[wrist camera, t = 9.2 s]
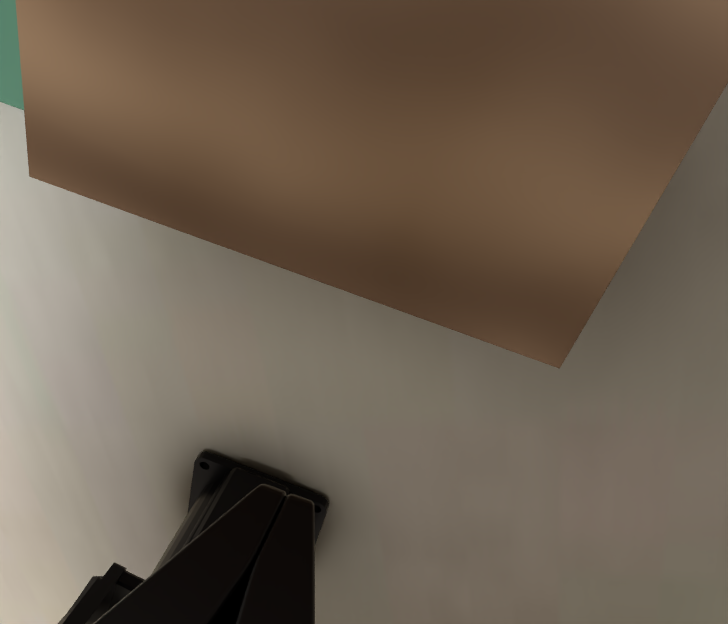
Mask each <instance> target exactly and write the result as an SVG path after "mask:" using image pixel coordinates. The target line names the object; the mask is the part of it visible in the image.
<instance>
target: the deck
mask: <svg viewBox="0 0 728 624" xmlns="http://www.w3.org/2000/svg"><path fill="white" fill-rule="evenodd" d="M16 12H17V25H18V38H19V50H20V63H21V76H22V88H23V101H24V114H25V126H26V139H27V151H28V164H29V176H30V177H32V178H35V179H38V180H41V181H43V182H46V183H49V184H52V185H54V186H57V187H60V188H63V189H66V190H68V191H71V192H74V193H77V194H79V195H82V196H85V197H88V198H90V199H93V200H96V201H99V202H101V203H104V204H107V205H110V206H112V207H115V208H118V209H121V210H124V211H126V212H129V213H132V214H135V215H137V216H140V217H143V218H146V219H148V220H151V221H154V222H157V223H159V224H162V225H165V226H168V227H170V228H173V229H176V230H179V231H181V232H184V233H187V234H190V235H193V236H195V237H198V238H201V239H204V240H206V241H209V242H212V243H215V244H217V245H220V246H223V247H226V248H228V249H231V250H234V251H237V252H239V253H242V254H245V255H248V256H251V257H253V258H256V259H259V260H262V261H264V262H267V263H270V264H273V265H275V266H278V267H281V268H284V269H286V270H289V271H292V272H295V273H297V274H300V275H303V276H306V277H308V278H311V279H314V280H317V281H320V282H322V283H325V284H328V285H331V286H333V287H336V288H339V289H342V290H344V291H347V292H350V293H353V294H355V295H358V296H361V297H364V298H366V299H369V300H372V301H375V302H378V303H380V304H383V305H386V306H389V307H391V308H394V309H397V310H400V311H402V312H405V313H408V314H411V315H413V316H416V317H419V318H422V319H424V320H427V321H430V322H433V323H435V324H438V325H441V326H444V327H447V328H449V329H452V330H455V331H458V332H460V333H463V334H466V335H469V336H471V337H474V338H477V339H480V340H482V341H485V342H488V343H491V344H493V345H496V346H499V347H502V348H505V349H507V350H510V351H513V352H516V353H518V354H521V355H524V356H527V357H529V358H532V359H535V360H538V361H540V362H543V363H546V364H549V365H551V366H554V367H557V368H560V367H561V365H562V363H563V362H564V360H565V358H566V357H567V355H568V353H569V351H570V350H571V348H572V346H573V345H574V343H575V341H576V340H577V338H578V336H579V335H580V333H581V331H582V329H583V328H584V326H585V324H586V323H587V321H588V319H589V318H590V316H591V314H592V312H593V311H594V309H595V307H596V306H597V304H598V302H599V301H600V299H601V297H602V295H603V294H604V292H605V290H606V289H607V287H608V285H609V284H610V282H611V280H612V278H613V277H614V275H615V273H616V272H617V270H618V268H619V267H620V265H621V263H622V261H623V260H624V258H625V256H626V255H627V253H628V251H629V250H630V248H631V246H632V245H633V243H634V241H635V239H636V238H637V236H638V234H639V233H640V231H641V229H642V228H643V226H644V224H645V222H646V221H647V219H648V217H649V216H650V214H651V212H652V211H653V209H654V207H655V205H656V204H657V202H658V200H659V199H660V197H661V195H662V194H663V192H664V190H665V188H666V187H667V185H668V183H669V182H670V180H671V178H672V177H673V175H674V173H675V171H676V170H677V168H678V166H679V165H680V163H681V161H682V160H683V158H684V156H685V155H686V153H687V151H688V149H689V148H690V146H691V144H692V143H693V141H694V139H695V138H696V136H697V134H698V132H699V131H700V129H701V127H702V126H703V124H704V122H705V121H706V119H707V117H708V115H709V114H710V112H711V110H712V109H713V107H714V105H715V104H716V102H717V100H718V98H719V97H720V95H721V93H722V92H723V90H724V88H725V87H726V85H727V83H728V0H16Z"/></svg>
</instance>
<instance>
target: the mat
mask: <svg viewBox="0 0 728 624" xmlns="http://www.w3.org/2000/svg"><path fill="white" fill-rule="evenodd" d="M0 102H2V103H5V104H8V105H11V106H14V107H16V108H19V109H22V110H24V101H23V88H22V76H21V63H20V50H19V38H18V25H17V12H16V0H0Z"/></svg>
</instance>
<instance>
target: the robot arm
mask: <svg viewBox="0 0 728 624" xmlns="http://www.w3.org/2000/svg"><path fill="white" fill-rule="evenodd" d="M328 507H329V502H328V500H327V499H326V498H325V497H323V496H321V495H318V494H316V493H313V492H310V491H308V490H305V489H303V488H300V487H297V486H295V485H292V484H290V483H287V482H284V481H282V480H279V479H277V478H274V477H271V476H269V475H266V474H264V473H261V472H259V471H256V470H253V469H251V468H248V467H246V466H243V465H240V464H238V463H235V462H233V461H230V460H227V459H225V458H222V457H220V456H217V455H214V454H212V453H209V452H201V453H200V454H199V455H198V457H197V458H196V460H195V463H194V471H193V478H192V486H191V494H190V501H189V509H188V514H187V516H186V518H185V519H184V521H183V523H182V524H181V526H180V528H179V529H178V531H177V533H176V534H175V536H174V538H173V539H172V541H171V543H170V544H169V546H168V548H167V549H166V551H165V553H164V554H163V556H162V558H161V559H160V561H159V563H158V564H157V566H156V568H155V569H154V571H153V573H152V574H151V576H149V577H148V578H147V579H146V580H144V579H142V578H140V577H138V576H136V575H134V574H132V573H130V572H128V571H126V568H125V567H123V566H121V565H119V564H117V563H113V565H112V566H111V567H110V569H109V570H108V571H107V573H106V574H105V575H104V576H93V577H92V578H91V580H90V581H89V583H88V584H87V586H86V587H85V589H84V590H83V591H82V593H81V594H80V596H79V597H78V599H77V600H76V602H75V603H74V604H73V606H72V607H71V608H70V610H69V611H68V612H67V614H66V615H65V616H64V617H63V618H62V619H61V621H60V622H59V623H58V624H315V544H316V541H317V538H318V535H319V532H320V529H321V527H322V524H323V521H324V518H325V515H326V512H327V510H328Z"/></svg>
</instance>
